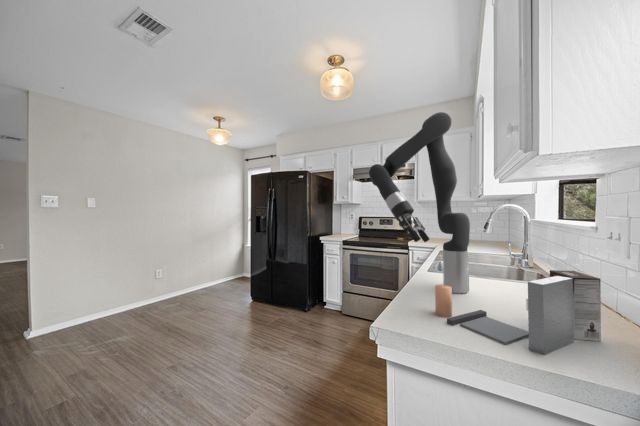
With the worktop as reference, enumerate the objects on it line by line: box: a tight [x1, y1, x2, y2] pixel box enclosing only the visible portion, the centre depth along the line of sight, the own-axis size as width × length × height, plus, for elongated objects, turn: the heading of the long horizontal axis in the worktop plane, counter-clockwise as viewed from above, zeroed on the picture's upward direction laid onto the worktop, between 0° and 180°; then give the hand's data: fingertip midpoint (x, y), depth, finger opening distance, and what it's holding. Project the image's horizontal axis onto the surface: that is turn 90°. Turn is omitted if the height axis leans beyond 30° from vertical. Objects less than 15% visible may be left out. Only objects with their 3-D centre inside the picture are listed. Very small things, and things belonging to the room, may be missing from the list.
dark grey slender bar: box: [446, 309, 488, 327], centre depth 77 cm, size 16×2×2 cm, turn 115°
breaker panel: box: [525, 276, 575, 356], centre depth 62 cm, size 14×4×16 cm, turn 115°
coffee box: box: [549, 269, 602, 342], centre depth 68 cm, size 9×6×16 cm
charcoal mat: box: [459, 316, 529, 346], centre depth 70 cm, size 12×12×1 cm
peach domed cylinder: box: [434, 284, 453, 318], centre depth 81 cm, size 5×5×9 cm
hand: (422, 240), depth 91 cm, fingers open, 8 cm apart
